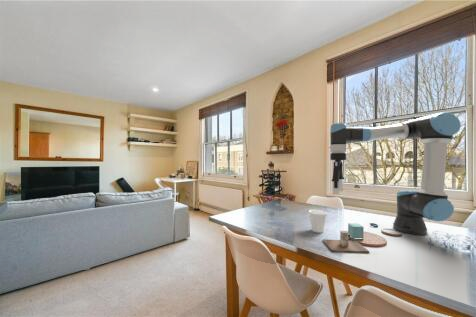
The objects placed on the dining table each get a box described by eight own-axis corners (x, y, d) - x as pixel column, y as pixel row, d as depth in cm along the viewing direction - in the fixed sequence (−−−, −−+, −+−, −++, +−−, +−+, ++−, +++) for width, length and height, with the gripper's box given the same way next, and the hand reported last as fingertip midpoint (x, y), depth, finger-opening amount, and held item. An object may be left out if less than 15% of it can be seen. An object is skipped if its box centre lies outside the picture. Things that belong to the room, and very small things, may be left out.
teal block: (358, 235, 109) (358, 223, 109) (363, 239, 103) (363, 226, 103) (348, 235, 109) (348, 223, 109) (352, 239, 104) (352, 226, 104)
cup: (329, 235, 110) (329, 214, 110) (309, 233, 112) (309, 213, 112) (324, 228, 119) (325, 210, 119) (307, 227, 121) (307, 209, 121)
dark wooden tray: (355, 242, 100) (355, 227, 100) (369, 253, 89) (369, 237, 89) (322, 240, 102) (322, 227, 102) (331, 251, 90) (331, 236, 90)
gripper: (334, 153, 120) (334, 189, 120) (326, 152, 99) (326, 195, 99) (348, 153, 116) (348, 190, 116) (343, 151, 95) (343, 197, 95)
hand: (338, 192), depth 107 cm, fingers open, 13 cm apart
